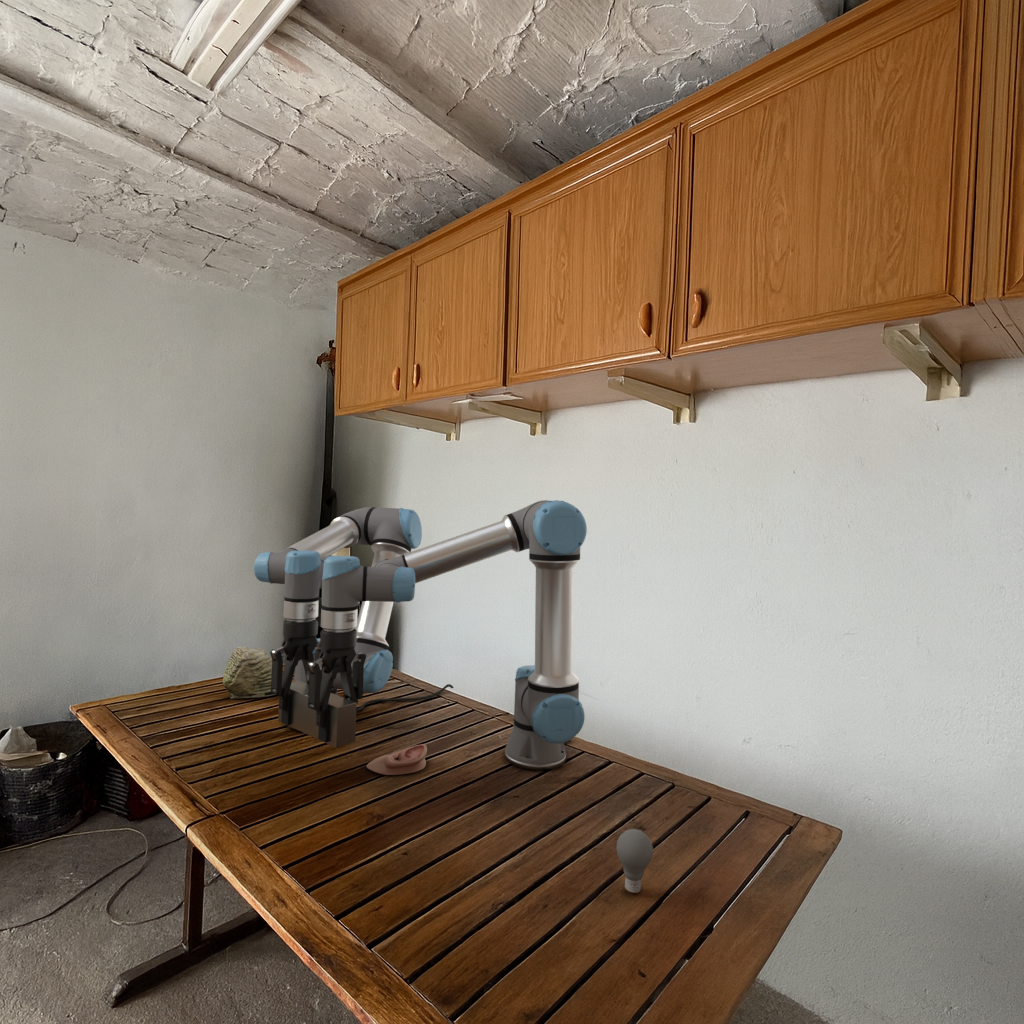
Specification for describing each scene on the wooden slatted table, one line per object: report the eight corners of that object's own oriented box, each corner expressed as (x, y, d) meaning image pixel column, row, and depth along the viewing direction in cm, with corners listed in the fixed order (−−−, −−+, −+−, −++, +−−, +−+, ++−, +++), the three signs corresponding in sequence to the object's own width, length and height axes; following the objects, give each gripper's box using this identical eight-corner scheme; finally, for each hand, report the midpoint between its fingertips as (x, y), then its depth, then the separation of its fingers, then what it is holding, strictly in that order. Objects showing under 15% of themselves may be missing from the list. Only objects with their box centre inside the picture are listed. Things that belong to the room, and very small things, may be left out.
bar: (277, 720, 145) (279, 684, 145) (297, 715, 149) (298, 680, 149) (335, 747, 131) (337, 707, 131) (355, 741, 135) (356, 702, 135)
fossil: (218, 695, 195) (220, 647, 195) (278, 685, 208) (279, 640, 207) (228, 703, 189) (230, 653, 188) (289, 692, 201) (290, 645, 201)
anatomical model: (361, 754, 146) (381, 736, 157) (360, 771, 146) (380, 752, 157) (415, 762, 143) (432, 743, 155) (415, 779, 143) (431, 759, 155)
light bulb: (610, 879, 108) (613, 822, 108) (644, 879, 109) (647, 822, 109) (619, 902, 102) (622, 840, 102) (655, 901, 103) (658, 840, 103)
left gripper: (273, 626, 135) (269, 735, 135) (344, 616, 149) (340, 714, 149) (255, 621, 139) (251, 726, 140) (325, 612, 153) (321, 707, 154)
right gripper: (312, 637, 126) (308, 753, 126) (383, 626, 140) (379, 730, 140) (291, 631, 130) (287, 743, 131) (361, 620, 145) (358, 722, 145)
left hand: (297, 720), depth 145 cm, fingers open, 5 cm apart
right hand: (334, 736), depth 136 cm, fingers closed on bar, 5 cm apart
